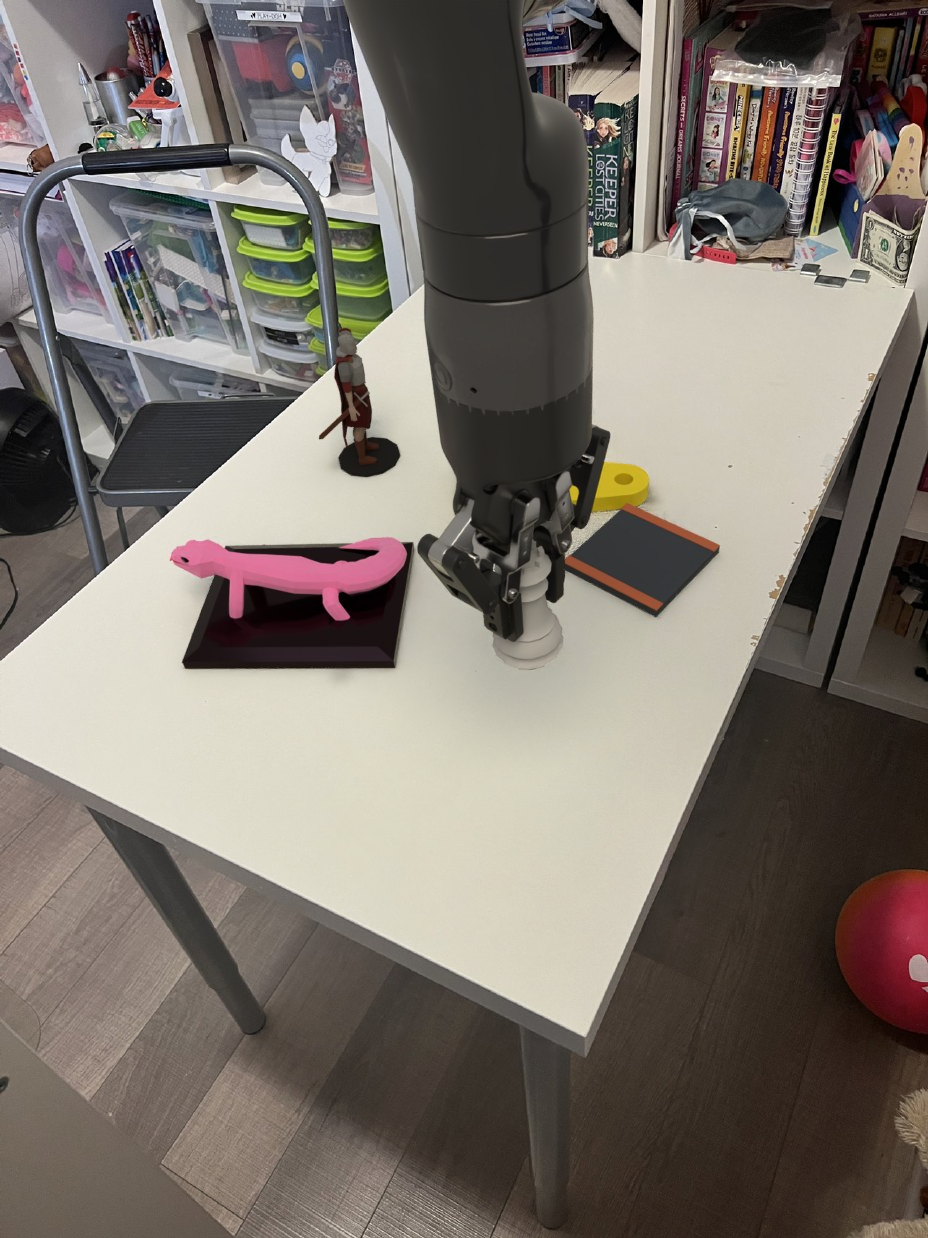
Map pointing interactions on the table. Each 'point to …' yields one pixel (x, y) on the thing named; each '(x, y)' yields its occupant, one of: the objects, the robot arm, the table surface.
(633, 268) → the table surface
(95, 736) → the table surface
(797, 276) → the table surface
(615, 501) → the crank
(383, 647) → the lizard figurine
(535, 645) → the rook chess piece
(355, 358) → the figurine
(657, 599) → the mat
